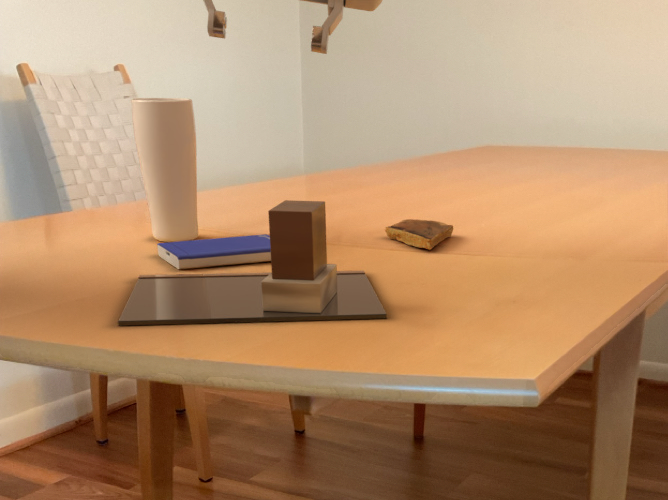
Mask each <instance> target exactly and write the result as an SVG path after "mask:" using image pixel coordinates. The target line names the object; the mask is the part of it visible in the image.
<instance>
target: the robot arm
mask: <svg viewBox="0 0 668 500" xmlns="http://www.w3.org/2000/svg"><path fill="white" fill-rule="evenodd" d="M299 1H300V2H306V3H307V2H308V3H313V4H319V5H320V4H321V5H327V18H326V19H325V21H324V22H323V23H322V25H321V26H319V25H312V30H311V36H312V37H311V41H310V51H311V52H312V53H317V54H318V53H319V54H323V55H327V54H328V47H329V38H330V37H329V36H331V35H332V34H333V33H334V31H335V30H336V29H337V27H338V26H339V25H340V23H341V22H342V20H343V18H344V17H343V16H344V9H345V8H346V9H351V10H352V9H353V10H357V11H358V10H360V11H363V12H364V11H365V12H374V11H375V10H376V9H377V8H378V7H380V5H381V4H382V3H383V0H299ZM202 2H203V4H204V6H205V9H206V11H207V13H208V14H207V26H206V28H207V34H208V37H212V38H218V39H219V38H220V39H224V40H225V39H226V38H227V30H226V29H227V26H228V19H227V16H226V12H225V11H221V10H217V8H216V7H215V4H214V1H213V0H202Z"/></svg>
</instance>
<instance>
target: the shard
mask: <svg viewBox="0 0 668 500" xmlns="http://www.w3.org/2000/svg"><path fill="white" fill-rule="evenodd" d="M384 231H385V233H386V236H387V237H388V238H389V239H390V240H397V241H398V242H402V243H404V244H406V245H407V246H413V247H415V248H421V249H426V250H429V251H430V250H431V251H432V249H434V247H435V246H437V245H439V244H440V243H441V242H443V241H444V240H446V239H448V238H451V237H452V235H453V231H454V226H453V224H447V223H444V222H443V221H442V222H441V221H436V220H427V219H413V218H411V219H402V220H400V221H398V222H397V223H394V224H392V225H388V226H386V227H385V229H384Z"/></svg>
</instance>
